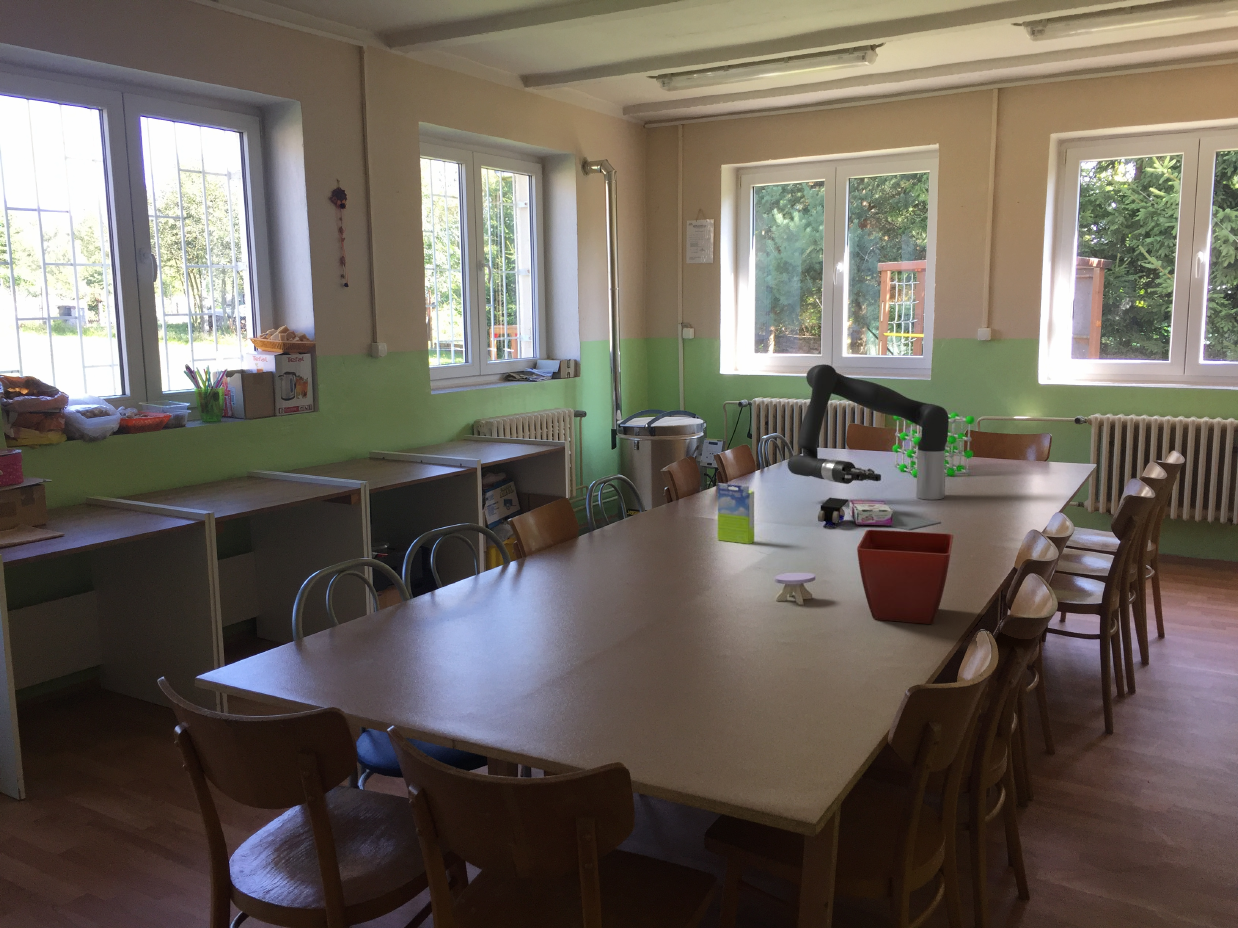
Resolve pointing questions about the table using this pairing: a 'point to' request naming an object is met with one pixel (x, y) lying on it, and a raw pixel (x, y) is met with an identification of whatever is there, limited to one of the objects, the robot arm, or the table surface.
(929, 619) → the plant pot
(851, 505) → the candy bar box
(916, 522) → the mat
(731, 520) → the box
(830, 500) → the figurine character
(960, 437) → the molecular structure model
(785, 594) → the toy table
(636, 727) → the table surface
